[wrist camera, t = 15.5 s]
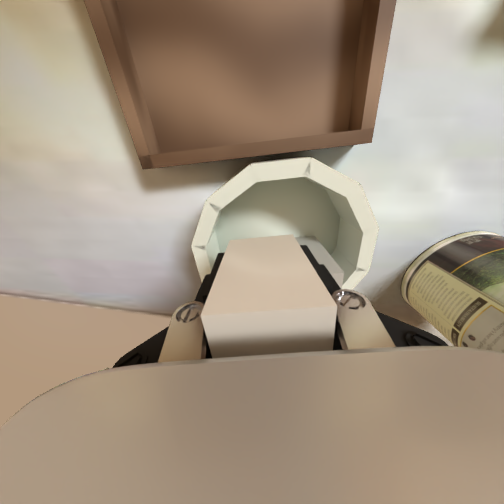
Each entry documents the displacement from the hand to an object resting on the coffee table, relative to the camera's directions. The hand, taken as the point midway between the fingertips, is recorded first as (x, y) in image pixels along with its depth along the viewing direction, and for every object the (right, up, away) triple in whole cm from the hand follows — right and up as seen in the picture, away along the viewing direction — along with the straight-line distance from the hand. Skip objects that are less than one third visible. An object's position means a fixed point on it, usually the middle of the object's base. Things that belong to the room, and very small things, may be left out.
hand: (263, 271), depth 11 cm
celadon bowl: (+2, +3, +6) cm, 7 cm away
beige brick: (0, 0, 0) cm, 0 cm away
